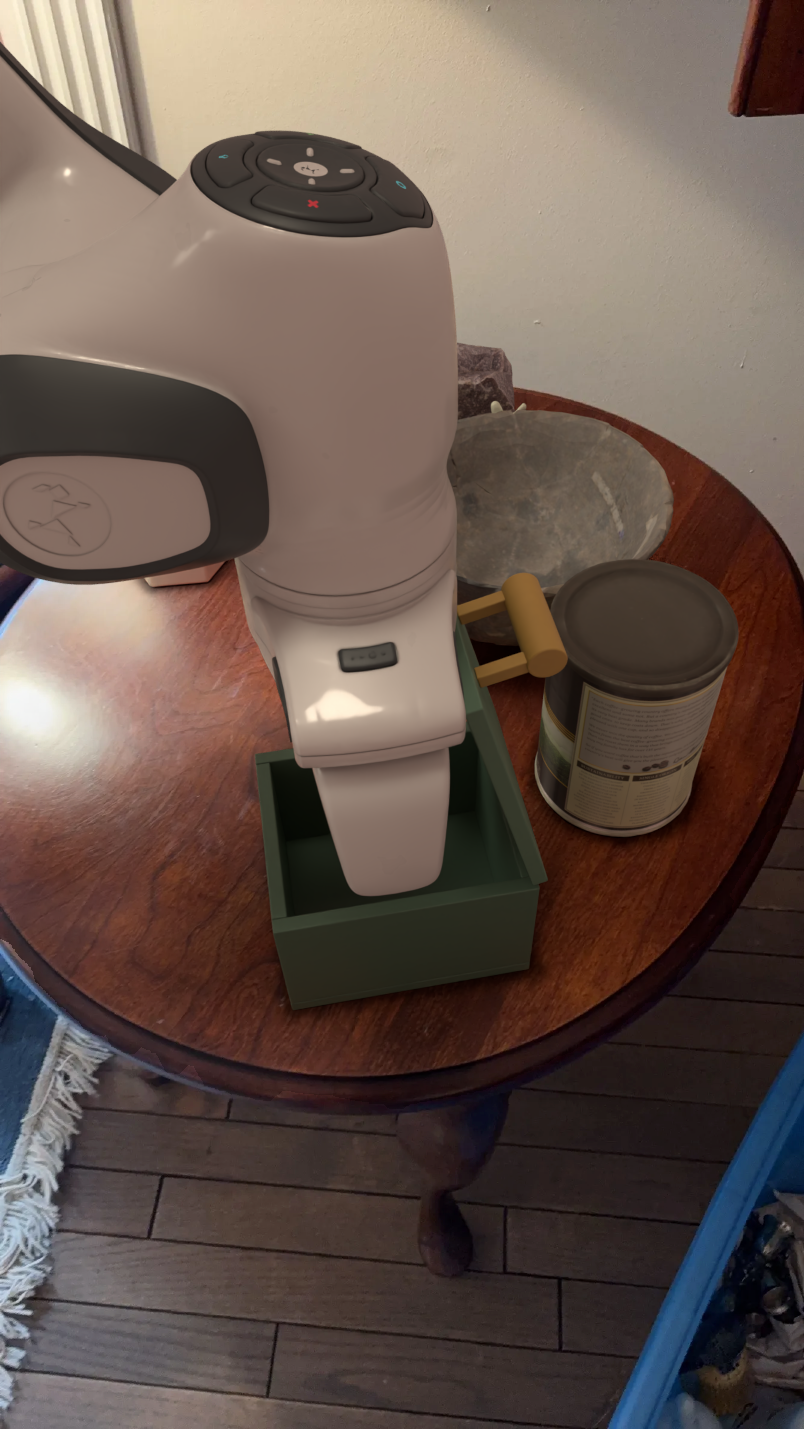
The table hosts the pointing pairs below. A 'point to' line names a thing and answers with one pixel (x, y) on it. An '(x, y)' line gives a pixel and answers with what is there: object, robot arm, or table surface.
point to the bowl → (548, 503)
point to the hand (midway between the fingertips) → (367, 780)
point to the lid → (536, 657)
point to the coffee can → (631, 694)
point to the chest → (396, 927)
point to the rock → (483, 380)
